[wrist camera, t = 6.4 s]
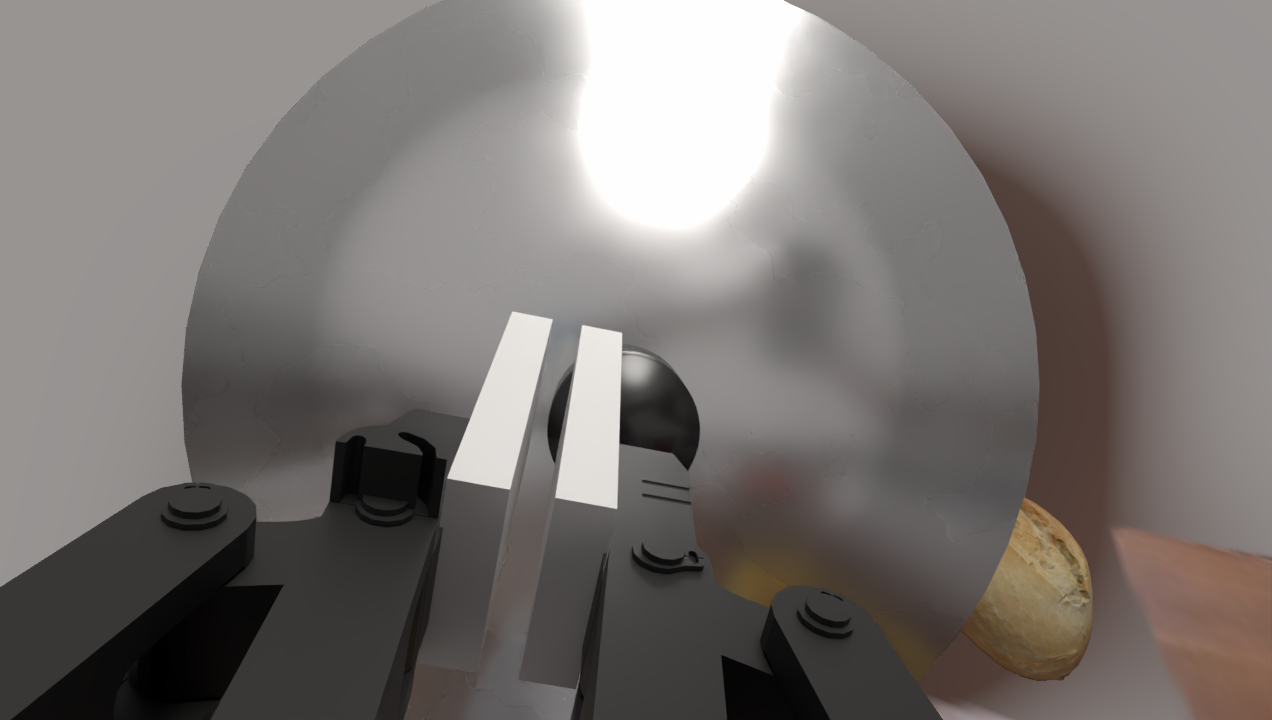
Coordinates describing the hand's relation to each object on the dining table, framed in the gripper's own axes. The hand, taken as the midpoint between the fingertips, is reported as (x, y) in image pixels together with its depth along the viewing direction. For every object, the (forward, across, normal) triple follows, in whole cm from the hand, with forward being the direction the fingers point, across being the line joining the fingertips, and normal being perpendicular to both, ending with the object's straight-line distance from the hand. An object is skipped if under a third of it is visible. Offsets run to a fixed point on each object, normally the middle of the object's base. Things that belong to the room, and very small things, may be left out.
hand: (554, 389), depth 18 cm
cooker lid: (+4, +1, -2) cm, 4 cm away
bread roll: (+33, +27, -24) cm, 49 cm away
